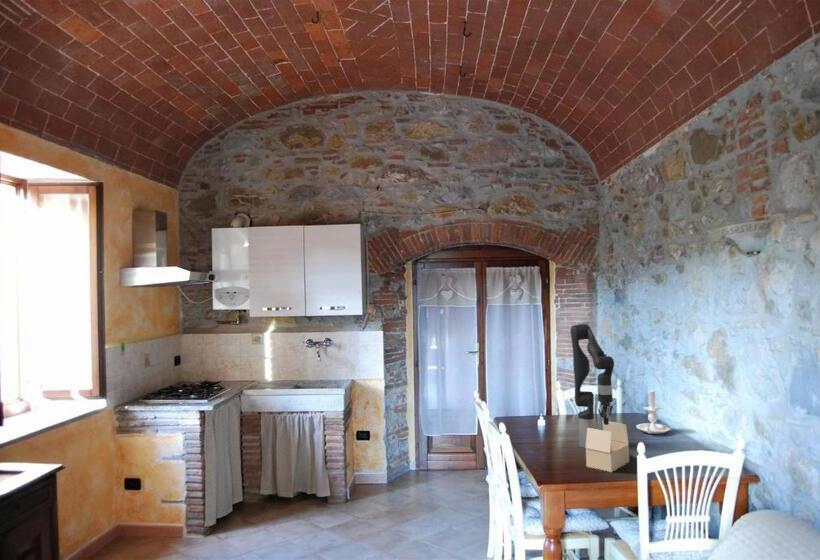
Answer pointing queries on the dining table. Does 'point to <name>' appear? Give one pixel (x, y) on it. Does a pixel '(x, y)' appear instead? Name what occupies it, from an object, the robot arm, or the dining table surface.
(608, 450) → the front flap
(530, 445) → the dining table surface
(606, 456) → the carton
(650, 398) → the candlestick
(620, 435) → the back flap
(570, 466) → the dining table surface
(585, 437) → the robot arm
